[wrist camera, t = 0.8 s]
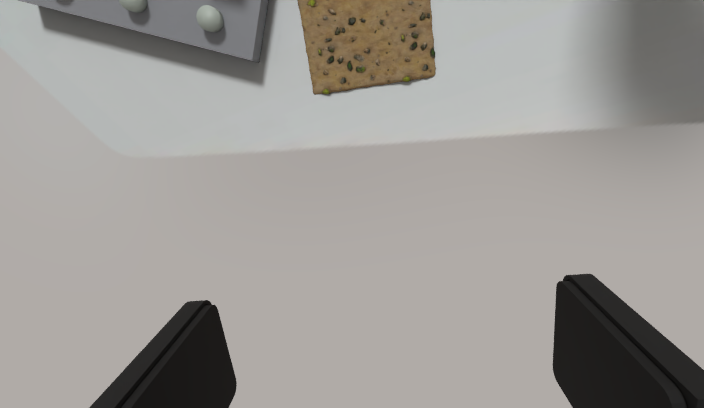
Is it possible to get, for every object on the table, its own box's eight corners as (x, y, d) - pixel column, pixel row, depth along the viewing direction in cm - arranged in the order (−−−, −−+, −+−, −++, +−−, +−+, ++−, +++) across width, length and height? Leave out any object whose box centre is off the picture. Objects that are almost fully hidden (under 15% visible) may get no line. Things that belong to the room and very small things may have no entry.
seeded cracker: (289, -42, 32) (286, -46, 31) (425, -69, 31) (427, -74, 30) (312, 96, 36) (311, 96, 35) (436, 77, 34) (438, 76, 34)
